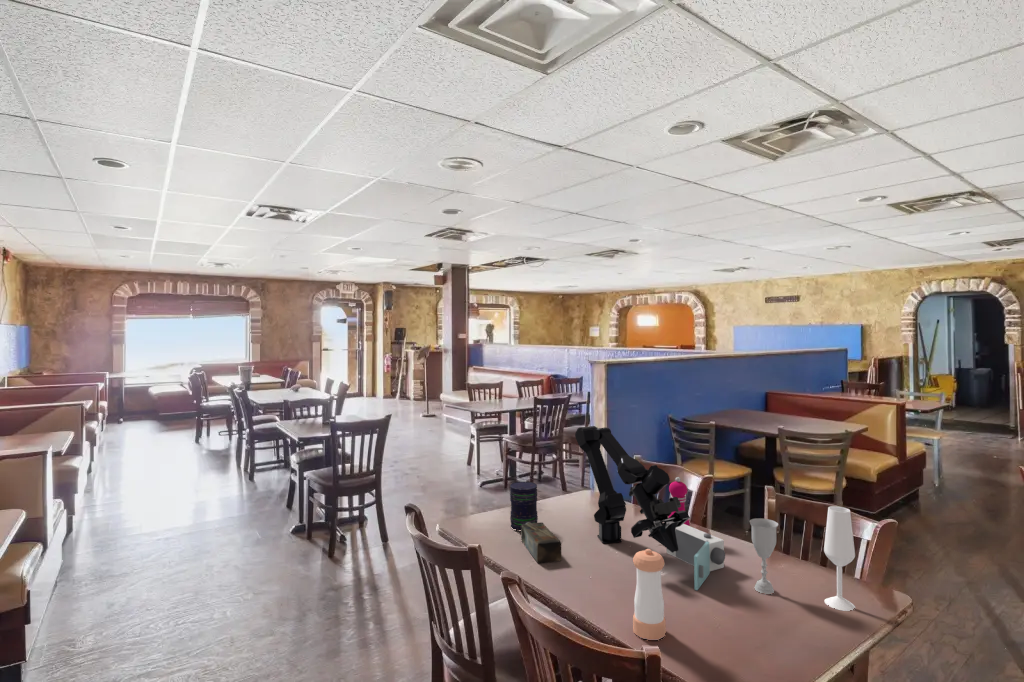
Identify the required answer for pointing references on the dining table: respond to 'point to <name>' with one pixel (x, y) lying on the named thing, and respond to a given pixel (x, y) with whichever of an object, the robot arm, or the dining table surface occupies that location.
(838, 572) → the champagne flute
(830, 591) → the dining table surface
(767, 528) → the chalice
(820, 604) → the dining table surface
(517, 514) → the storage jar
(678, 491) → the pepper mill
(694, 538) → the case
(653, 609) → the salt shaker
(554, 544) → the beverage carton
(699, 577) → the hatch
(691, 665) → the dining table surface
